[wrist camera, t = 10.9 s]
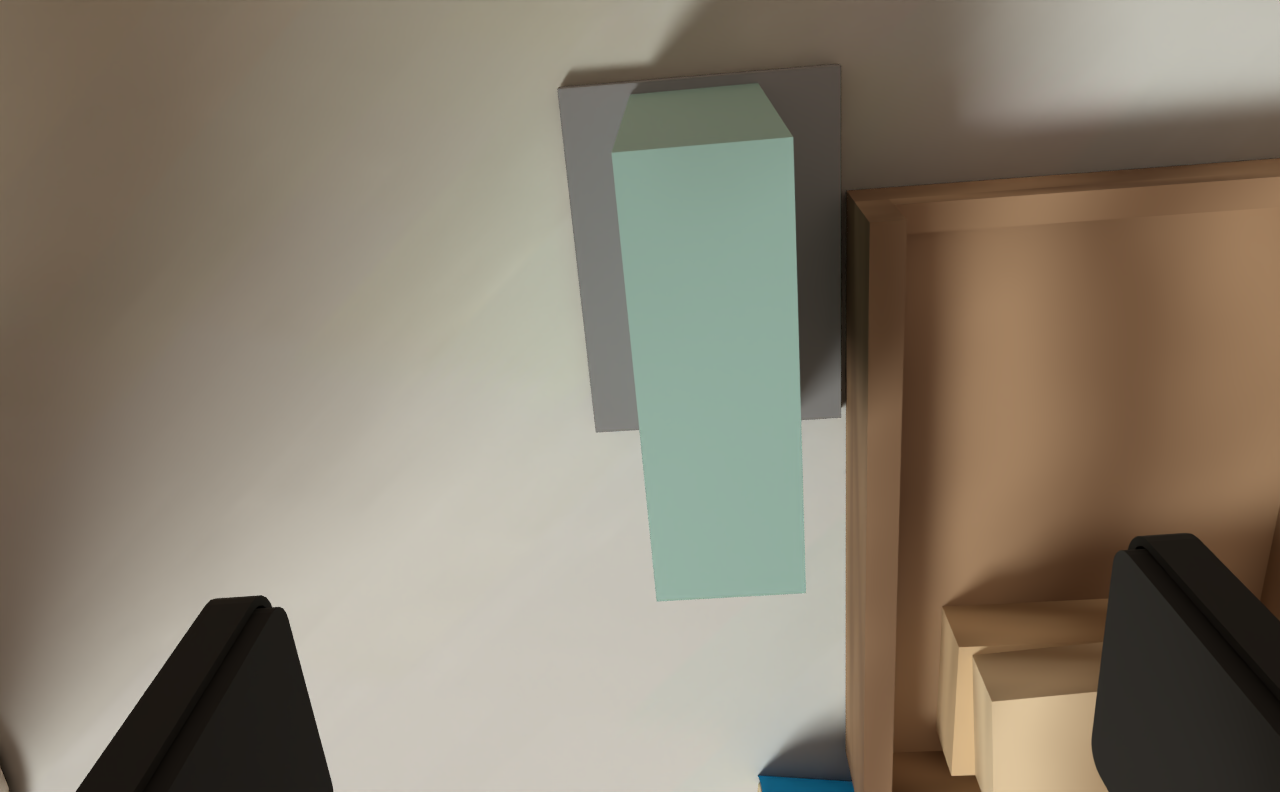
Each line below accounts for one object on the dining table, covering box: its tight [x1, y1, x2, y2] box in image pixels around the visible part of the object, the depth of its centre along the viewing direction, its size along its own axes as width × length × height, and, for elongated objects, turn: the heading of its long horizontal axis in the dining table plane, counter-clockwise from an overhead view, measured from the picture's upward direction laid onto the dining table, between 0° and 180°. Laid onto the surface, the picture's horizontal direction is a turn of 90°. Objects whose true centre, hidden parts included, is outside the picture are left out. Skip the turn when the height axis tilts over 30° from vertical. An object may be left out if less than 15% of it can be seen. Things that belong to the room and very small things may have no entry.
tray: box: [846, 158, 1280, 792], centre depth 26 cm, size 12×18×3 cm, turn 5°
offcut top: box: [972, 642, 1108, 792], centre depth 26 cm, size 6×4×2 cm, turn 99°
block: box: [612, 83, 806, 601], centre depth 22 cm, size 9×3×8 cm, turn 5°
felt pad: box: [557, 64, 841, 432], centre depth 25 cm, size 7×9×1 cm
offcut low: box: [936, 599, 1108, 776], centre depth 28 cm, size 7×4×2 cm, turn 95°
